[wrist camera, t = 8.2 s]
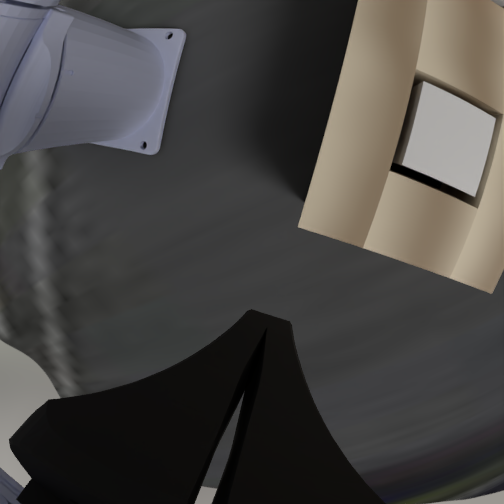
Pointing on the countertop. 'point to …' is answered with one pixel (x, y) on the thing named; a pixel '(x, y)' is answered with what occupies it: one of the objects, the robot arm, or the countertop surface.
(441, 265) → the button block
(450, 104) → the matte grey cube
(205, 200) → the countertop surface
